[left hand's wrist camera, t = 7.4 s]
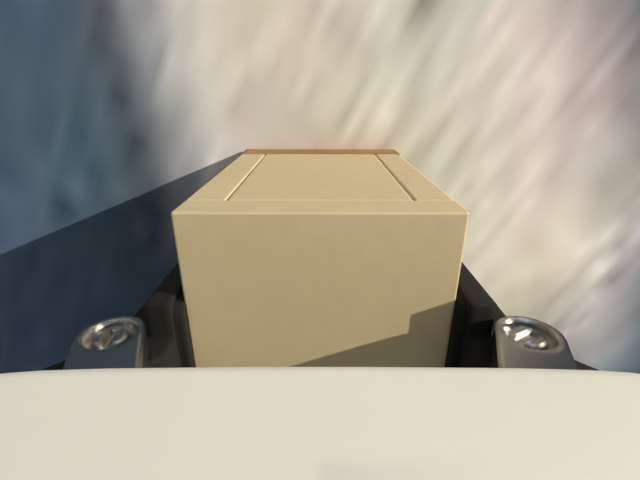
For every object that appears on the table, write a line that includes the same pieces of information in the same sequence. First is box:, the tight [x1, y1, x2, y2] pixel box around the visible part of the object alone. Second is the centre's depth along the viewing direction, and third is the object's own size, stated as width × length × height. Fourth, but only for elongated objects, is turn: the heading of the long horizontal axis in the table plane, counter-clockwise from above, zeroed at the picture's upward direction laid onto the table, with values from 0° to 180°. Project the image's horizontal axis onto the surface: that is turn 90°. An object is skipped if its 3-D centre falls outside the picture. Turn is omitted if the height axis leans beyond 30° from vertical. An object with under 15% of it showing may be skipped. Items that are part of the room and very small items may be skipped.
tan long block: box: [171, 150, 469, 368], centre depth 15 cm, size 22×6×8 cm, turn 0°
